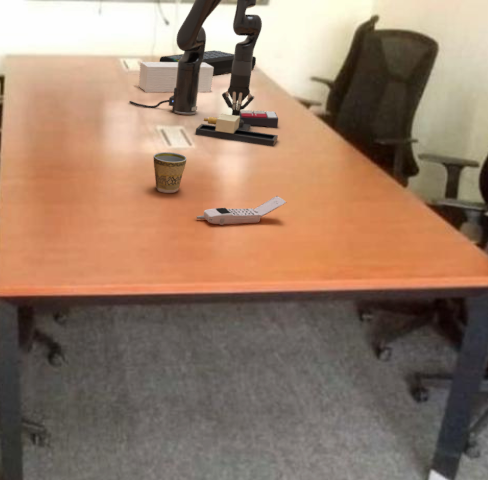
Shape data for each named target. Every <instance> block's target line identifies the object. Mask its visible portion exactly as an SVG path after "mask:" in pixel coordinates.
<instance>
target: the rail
mask: <svg viewBox="0 0 488 480" xmlns="http://www.w3.org/2000/svg"><path fill="white" fill-rule="evenodd" d="M215 129H216V125H213V124H205V123H201V124H199V125H198V126H197V127H196V128H195V134H194V135H197V136H202V137H203V136H204V137H208V138H209V137H210V138H215V139H216V138H217V139H223V140H228V141H234V142H235V141H236V142H240V143H241V142H242V143H248V144H255V145H261V146H268V147H274V146H275V144H276V143H277V142H278V138H279V137H278V136H279V135H278V134H272V133H266V132H258V131H252V130H248V131H246V130H239V129H237V130H236V132H235V134H232V133H225V132H219V131H215Z"/></svg>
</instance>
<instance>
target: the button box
mask: <svg viewBox="0 0 488 480" xmlns="http://www.w3.org/2000/svg"><path fill="white" fill-rule="evenodd" d="M251 126H252V125H249V124H244V121H243V120H241V119H240V122H239V128H238V129H239V130H246V131H250V129H251V128H252V127H251Z"/></svg>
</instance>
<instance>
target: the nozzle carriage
mask: <svg viewBox="0 0 488 480" xmlns="http://www.w3.org/2000/svg"><path fill="white" fill-rule="evenodd" d="M239 120H240V116H235V115H232V114H229V113H228V114H227V113H221V114H220V115H219V116H218V117H213V116H208V118H207V117H204V118H203V121H204V122H207V124H208V125H215V126H216V129H215V131H219V132H225V133H232V134H235V132H236V130H237V129H238V128H239Z"/></svg>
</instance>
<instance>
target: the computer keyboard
mask: <svg viewBox="0 0 488 480" xmlns="http://www.w3.org/2000/svg"><path fill="white" fill-rule="evenodd" d="M183 54H184V53H181V54H172V55H164V56H161V57H160V58H159V62H178V61H179V59H180V58H181V57H182V56H183ZM233 60H234V53H230V52H226V51H225V52H224V51H221V50H207V51H206V50H205V51H204V58H203V61H202V62H203V63H207V64H209V65H210V66H212V67H214V69H213V76H214V75H221V74H229V73H231V69H232V64H233ZM256 61H257V57H256V56H254V55H253V58H252V70H254V68H255V67H256V65H257V64H256Z"/></svg>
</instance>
